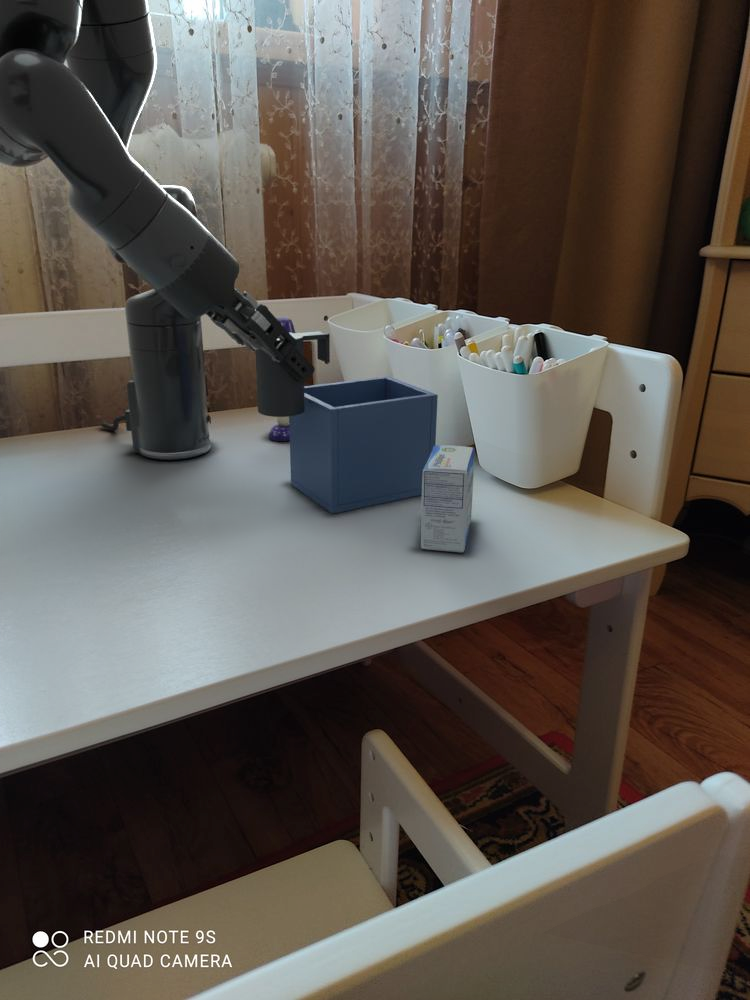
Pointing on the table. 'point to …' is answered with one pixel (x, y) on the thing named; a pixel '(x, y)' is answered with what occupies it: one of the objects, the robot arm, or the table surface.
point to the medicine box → (447, 498)
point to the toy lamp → (282, 428)
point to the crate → (362, 442)
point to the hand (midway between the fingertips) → (296, 371)
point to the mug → (285, 378)
